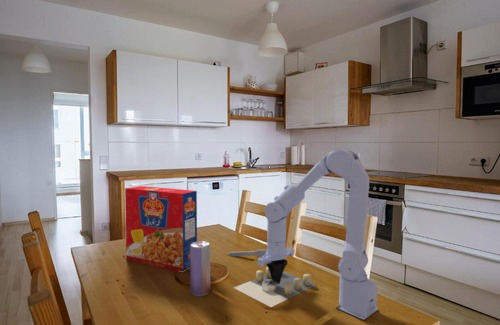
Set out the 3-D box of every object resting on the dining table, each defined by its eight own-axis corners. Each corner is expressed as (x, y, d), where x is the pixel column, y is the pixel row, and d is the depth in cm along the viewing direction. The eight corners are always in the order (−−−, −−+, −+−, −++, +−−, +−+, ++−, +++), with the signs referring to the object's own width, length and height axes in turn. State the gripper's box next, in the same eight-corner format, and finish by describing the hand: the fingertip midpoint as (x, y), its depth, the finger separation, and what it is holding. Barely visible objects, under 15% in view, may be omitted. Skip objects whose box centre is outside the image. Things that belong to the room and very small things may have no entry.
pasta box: (126, 259, 125) (125, 188, 124) (141, 253, 133) (140, 185, 131) (183, 272, 113) (182, 193, 111) (197, 265, 120) (196, 190, 118)
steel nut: (280, 289, 98) (280, 282, 98) (271, 294, 95) (271, 287, 95) (268, 284, 101) (268, 277, 101) (258, 288, 98) (258, 281, 98)
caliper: (274, 262, 123) (274, 246, 123) (273, 263, 122) (273, 247, 122) (227, 255, 132) (227, 239, 131) (226, 255, 131) (226, 240, 130)
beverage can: (191, 298, 94) (191, 247, 93) (189, 289, 100) (189, 241, 99) (211, 295, 96) (211, 246, 95) (208, 287, 102) (208, 240, 101)
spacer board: (316, 287, 101) (317, 275, 101) (271, 310, 87) (271, 296, 87) (279, 272, 113) (279, 261, 113) (233, 290, 99) (233, 278, 99)
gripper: (282, 232, 107) (282, 272, 108) (250, 241, 97) (250, 285, 98) (299, 237, 102) (298, 279, 103) (267, 247, 92) (266, 293, 93)
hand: (276, 282), depth 100 cm, fingers closed
